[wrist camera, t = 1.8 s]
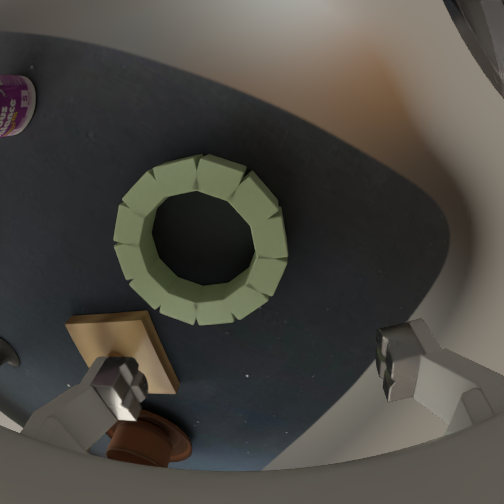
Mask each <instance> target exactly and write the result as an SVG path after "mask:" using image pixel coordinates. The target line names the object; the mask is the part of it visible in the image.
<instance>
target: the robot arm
mask: <svg viewBox="0 0 504 504" xmlns="http://www.w3.org/2000/svg"><path fill="white" fill-rule="evenodd" d="M503 1H504V0H503ZM376 340H377V343H378V345H379V346H378V347H377V349H376V366H377V370H378V374H379V377H380V378H382V379H383V380H384V381H383V389H384V392H385V395H386V398H387V401H388V402H392V401H397V400H401V399H405V398H409V397H413V398H414V399H415V400H416V401H418V402H419V403H420V404H421V405H423V406H424V407H425V408H427V409H428V410H429V411H430V412H432V413H433V414H434V415H436V416H437V417H438V418H439V419H441V420H442V421H443V422H444V423H446V424H447V425H448V428H447V430H446V433H445V435H444V436H443V437H440V438H437V439H434V440H431V441H428V442H425V443H421V444H419V445H415V446H412V447H408V448H404V449H401V450H397V451H393V452H389V453H385V454H381V455H377V456H372V457H367V458H363V459H358V460H352V461H347V462H342V463H336V464H329V465H322V466H315V467H306V468H296V469H284V470H271V471H270V470H269V471H199V470H184V469H173V468H163V467H155V466H147V465H140V464H134V463H128V462H122V461H117V460H112V459H107V458H102V457H97V456H93V455H90V454H89V453H88V452H87V450H88V449H89V448H90V447H91V446H92V445H93V444H94V443H95V442H96V441H97V440H98V439H99V438H100V437H101V436H102V435H103V434H104V433H105V432H107V431H108V430H109V429H110V428H111V427H112V426H113V425H114V424H115V423H116V422H117V420H126V421H137V419H138V416H139V414H140V411H141V409H142V406H141V404H140V403H141V402H142V401H143V400H145V399H146V397H147V394H148V382H147V379H146V377H145V375H144V374H143V373H142V372H141V371H139V370H138V367H139V364H138V362H137V361H136V359H135V358H133V357H112V356H110V357H103V356H100V357H97V358H96V359H95V361H94V362H93V364H92V365H91V367H90V368H89V370H88V371H87V373H86V374H85V376H84V378H83V379H82V381H81V382H80V384H79V385H77V384H76V385H74V386H73V387H71V388H70V389H68V390H67V391H65V392H64V393H62V394H61V395H59V396H58V397H56V398H55V399H53V400H52V401H50V402H49V403H47V404H45V405H44V406H42V407H41V408H39V409H38V410H36V411H35V412H33V414H32V415H31V417H30V418H29V420H28V422H27V423H26V425H25V426H24V428H23V430H22V431H21V433H18V432H15V431H13V430H10V429H8V428H5V427H3V426H1V425H0V504H504V376H503V375H501V374H499V373H497V372H494V371H492V370H490V369H488V368H486V367H484V366H482V365H480V364H478V363H475V362H473V361H471V360H469V359H467V358H465V357H463V356H461V355H458V354H456V353H454V352H452V351H450V350H448V349H441V347H440V346H439V344H438V343H437V341H436V339H435V338H434V336H433V334H432V333H431V331H430V329H429V328H428V326H427V325H426V323H425V322H424V320H423V319H421V318H420V319H417V320H413V321H409V322H407V323H402V324H398V325H393V326H389V327H384V328H380V329H377V333H376Z"/></svg>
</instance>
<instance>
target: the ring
mask: <svg viewBox="0 0 504 504" xmlns="http://www.w3.org/2000/svg"><path fill="white" fill-rule="evenodd" d="M246 169H247V167H246V166H244V165H241V164H238V163H235V162H232V161H229V160H226V159H223V158H220V157H217V156H214V155H211V154H208V155H206V156H204V157H203V154H198V155H194V156H190V157H186V158H181V159H177V160H173V161H169V162H166V163H163V164H161V165H158V166H156V167H153V169H151V170H149V171H147V172H146V173H145V174H144V175H143V176H142V177H141V178H140V179H139V180H138V181H137V183H136V184H135V185H134V186H133V187H132V188H131V189H130V190H129V191H128V193H127V194H126V195H125V196H124V197H123V198H122V200H123V201H124V202H123V203H121V204H120V205H119V209H118V215H117V221H116V226H115V233H114V239H113V240H114V241H117V242H118V243H117V244H115V245H114V248H115V251H116V254H117V256H118V259H119V262H120V265H121V268H122V270H123V273H124V276H125V279H126V280H127V279H133V280H132V281H131V282H130V284H129V285H130V286H131V287H132V288H133V289H134V290H135V291H136V292H137V293H138V294H139V295H140V296H141V297H142V298H143V299H144V300H145V301H146V302H147V303H148V304H149V305H150V306H151V307H152V308H153V309H157V308H158V307H159V306H160V305H161V308H160V313H162V314H164V315H167V316H170V317H172V318H175V319H178V320H181V321H183V322H186V323H189V324H192V325H194V323H195V320H196V318H197V321H198V324H199V325H210V324H221V323H231V322H234V320H235V316H236V317H237V318H238V319H239V320H241V319H242V318H244V317H245V316H247V315H248V314H250V313H251V312H253V311H254V310H256V309H257V308H259V307H260V306H262V305H263V304H264V303H266V302H267V301H268V300H269V295H270V296H273V294H274V292H275V290H276V288H277V286H278V283H279V281H280V279H281V277H282V274H283V272H284V270H285V268H286V265H287V257H288V247H287V239H286V232H285V226H284V220H283V214H282V208H281V206H278V199H277V198H276V197H275V196H274V195H273V193H272V192H271V191H270V190H269V189H268V188H267V186H266V185H265V184H264V183H263V182H262V181H261V180H260V178H259V177H258V176H257V175H256V174H255V173H254V171H251V172H249V173H248V174H247V175H246V176H245V177H244V175H245V172H246ZM192 191H199V192H202V193H205V194H208V195H211V196H214V197H217V198H220V199H223V200H226V201H228V202H229V203H230V204H231V205H232V206H233V207H234V208H235V210H236V211H237V212H238V213H239V214H240V215H241V216H242V217H243V218H244V220H245V221H246V222H247V223H248V224H249V225H250V227H251V232H252V237H253V242H254V247H255V252H254V255H253V258H252V260H251V263H250V265H249V268H247V269H246V270H245V271H243V272H242V273H241V274H239V275H238V276H237V277H235V278H234V279H233V280H231V281H230V282H229V283H222V284H214V285H206V286H202V285H199V284H196V283H193V282H191V281H188V280H185V279H182V278H179V277H177V276H176V275H175V274H174V273H173V272H172V271H171V270H170V269H169V268H168V266H167V265H166V264H165V263H164V262H163V261H162V260H161V259H160V258H159V256H158V253H157V250H156V246H155V243H154V240H153V236H152V229H153V224H154V220H155V215H156V211H157V208H158V207H159V206H160V205H161V204H162V203H163V202H164V201H165V200H166V199H167V198H168V197H169V196H173V195H177V194H182V193H187V192H192Z"/></svg>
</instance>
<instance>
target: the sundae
mask: <svg viewBox="0 0 504 504" xmlns="http://www.w3.org/2000/svg"><path fill="white" fill-rule="evenodd" d="M5 362H8V363H9V364H10V365H12V366H15V367H17V366H19V358H18V356H17V354H16V352H15V351H14V350H13V348H12V347H11V346H10V345H9V344H8V343H7V342H6V341H4V340H3V339H1V338H0V366H1V365H2V364H3V363H5Z"/></svg>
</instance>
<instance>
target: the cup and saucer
mask: <svg viewBox="0 0 504 504" xmlns="http://www.w3.org/2000/svg"><path fill="white" fill-rule="evenodd" d="M105 433H106V434H107V435H108V436H109V437H110V438H111V442H110V444H109V446H108V448H107V450H106V456H107V458H108V459H112V460H117V461H122V462H128V463H134V464H140V465H147V466H155V467H163V468H168V464H169V462H179V461H183V460H185V459H187V458H188V457H190V456H191V454H192V444H191V441H190V439H189V438H188V437H187V435H186V434H185V433H184V432H183V431H182V430H181V429H180V428H179V427H178V426H176V425H175V424H174V423H172V422H171V421H169V420H167V419H165V418H164V417H162V416H160V415H157V414H155V413H153V412H150V411H147V410H144V409H141V411H140V414H139V416H138V419H137V421H126V420H117V422H116V423H115V424H114V425H113V426H112V427H111V428H110V429H109V430H108V431H107V432H105Z"/></svg>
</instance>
